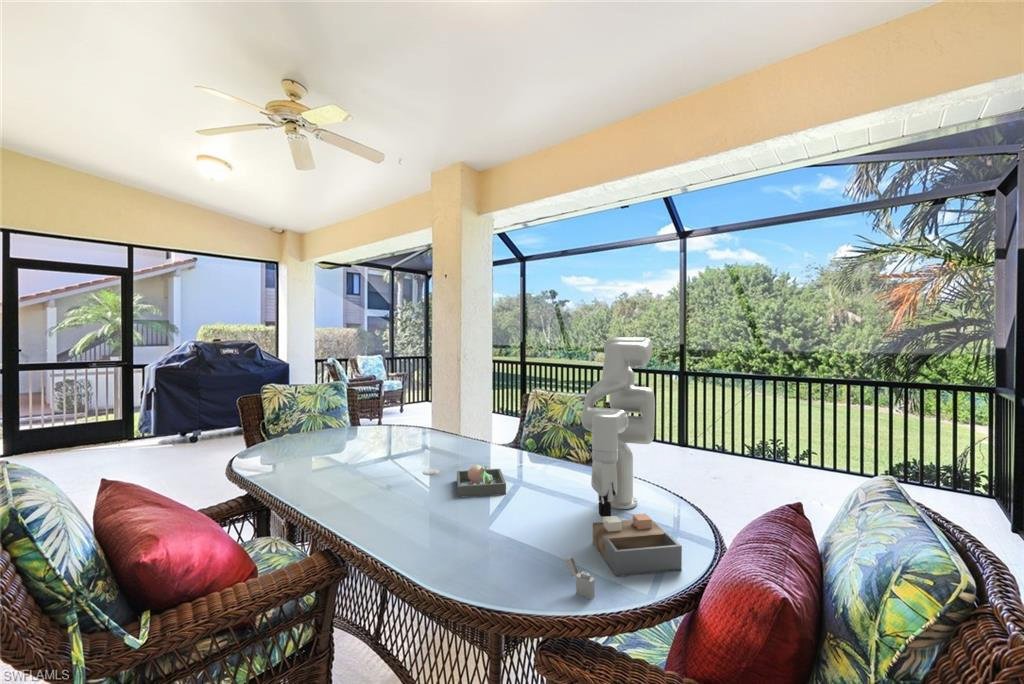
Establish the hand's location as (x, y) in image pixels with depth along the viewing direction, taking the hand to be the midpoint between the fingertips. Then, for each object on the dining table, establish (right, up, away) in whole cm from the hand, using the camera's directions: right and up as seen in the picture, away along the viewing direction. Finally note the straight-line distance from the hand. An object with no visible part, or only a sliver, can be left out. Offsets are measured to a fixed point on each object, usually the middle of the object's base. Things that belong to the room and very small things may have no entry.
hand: (604, 515), depth 135 cm
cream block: (+1, -1, -6) cm, 6 cm away
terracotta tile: (+10, -1, -4) cm, 11 cm away
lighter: (-12, -9, -27) cm, 30 cm away
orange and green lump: (-40, -6, +44) cm, 60 cm away
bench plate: (+6, -7, -6) cm, 11 cm away
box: (+7, -8, -15) cm, 18 cm away
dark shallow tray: (-40, -6, +44) cm, 60 cm away
